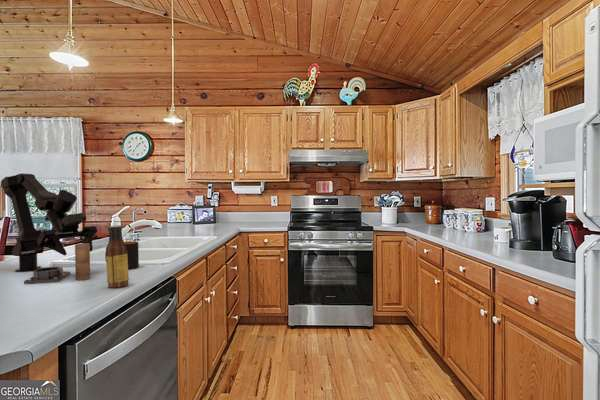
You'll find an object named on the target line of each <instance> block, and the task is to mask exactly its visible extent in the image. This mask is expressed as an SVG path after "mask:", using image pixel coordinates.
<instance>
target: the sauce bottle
mask: <svg viewBox="0 0 600 400" xmlns="http://www.w3.org/2000/svg"><path fill="white" fill-rule="evenodd" d="M107 231H108V235H109V238H108V243H107V245H106V247H105V253H106V259H105V263H106V277H107V279H106V280H107V285H108V286H107V287H109V288H115V289H116V288H123V287H126V286H128V285H129V280H130V277H129V276H130V275H129V270H128V258H127V249H126V246H125V245H124V242H125V241H124V239H123V226H122V225H110V226H108V227H107Z"/></svg>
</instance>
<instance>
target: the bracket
mask: <svg viewBox="0 0 600 400" xmlns="http://www.w3.org/2000/svg"><path fill="white" fill-rule="evenodd" d="M63 270H64V268H63V267H61V266H47V267H40V268H38V269H36V270H32V274H33V275H32V276H31V277H30V278H28V279H25V280H24V281H23V284H24V285H33V284H47V283H59V282H60V281H63V278H64V279H65V278H67V277H68V276H70V275H71V271H66V270H65V271H63ZM66 276H67V277H66Z"/></svg>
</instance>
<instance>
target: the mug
mask: <svg viewBox="0 0 600 400" xmlns="http://www.w3.org/2000/svg"><path fill="white" fill-rule="evenodd" d="M123 242H124V245H125V246H126V249H127V258H128V271H129V270H136V269H138V268H139V267H140V266H139V265H140V264H139V263H140V262H139V255H140V254H139V241H134V240H133V241H131V240H130V241H123ZM104 255H105V256H104V257H105V260H106V252H105V254H104Z"/></svg>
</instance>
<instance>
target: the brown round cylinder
mask: <svg viewBox="0 0 600 400" xmlns="http://www.w3.org/2000/svg"><path fill="white" fill-rule="evenodd" d="M90 253H91V251H90V244H89V243H76V244H74V258H75V259H74V263H75V265H74V266H75V281H77V282H78V281H79V282H80V281H81V280H82V281H86V280H90V279H91V258H90V257H91V254H90Z"/></svg>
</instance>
